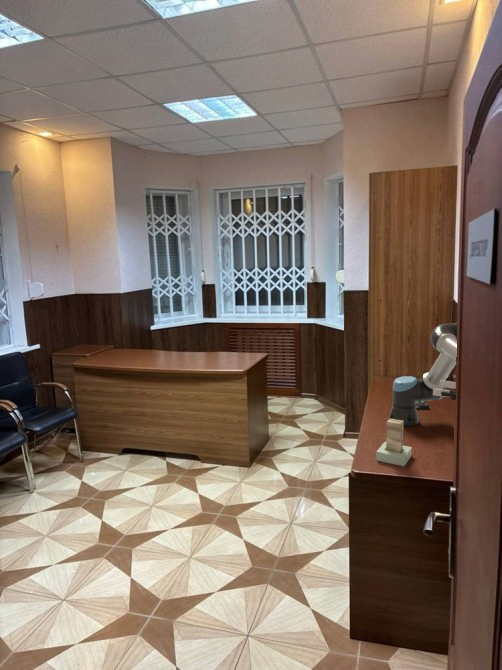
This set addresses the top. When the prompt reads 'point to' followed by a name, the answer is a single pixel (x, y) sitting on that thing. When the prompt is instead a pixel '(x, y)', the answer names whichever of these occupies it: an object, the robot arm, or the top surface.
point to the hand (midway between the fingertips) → (436, 387)
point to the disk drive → (422, 405)
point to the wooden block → (394, 436)
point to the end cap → (394, 455)
